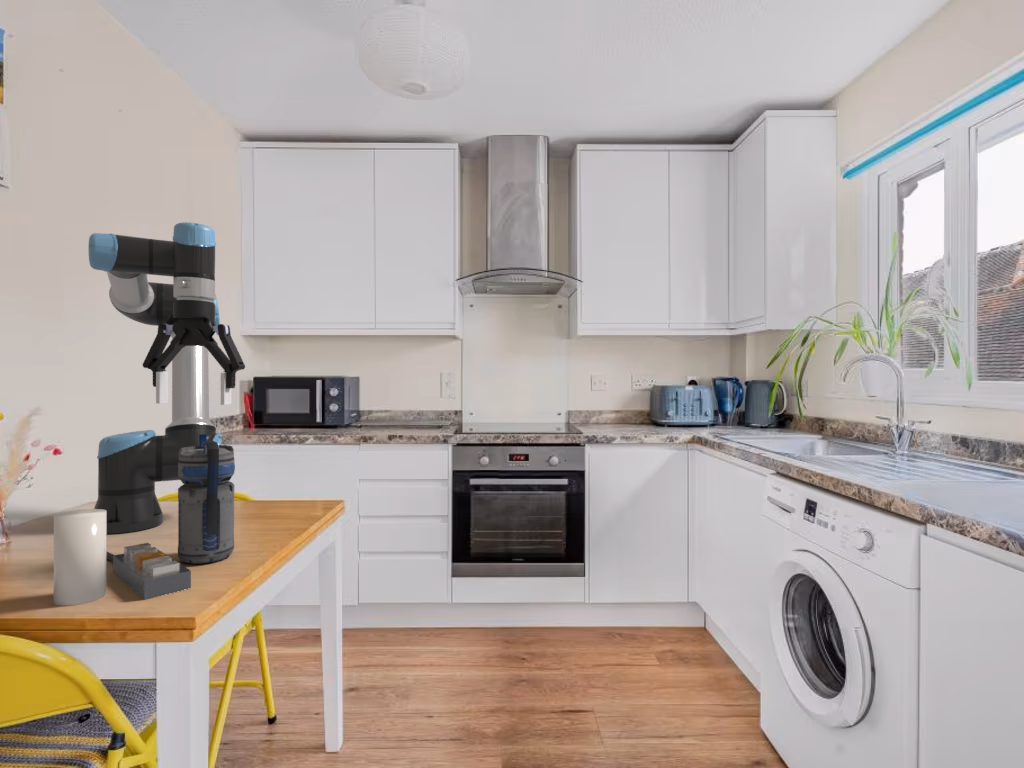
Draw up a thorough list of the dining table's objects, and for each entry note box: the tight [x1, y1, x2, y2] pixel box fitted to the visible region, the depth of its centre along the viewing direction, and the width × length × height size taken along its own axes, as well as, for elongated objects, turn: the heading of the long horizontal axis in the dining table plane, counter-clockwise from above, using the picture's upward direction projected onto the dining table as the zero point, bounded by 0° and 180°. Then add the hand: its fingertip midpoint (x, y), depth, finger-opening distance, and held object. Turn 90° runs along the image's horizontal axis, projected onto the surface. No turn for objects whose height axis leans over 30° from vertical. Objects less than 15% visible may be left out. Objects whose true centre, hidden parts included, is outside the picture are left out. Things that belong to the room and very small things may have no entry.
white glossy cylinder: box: [53, 508, 108, 607], centre depth 94 cm, size 7×7×14 cm
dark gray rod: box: [106, 550, 114, 563], centre depth 114 cm, size 11×1×1 cm, turn 54°
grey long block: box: [112, 542, 192, 601], centre depth 103 cm, size 20×7×5 cm, turn 48°
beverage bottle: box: [177, 434, 236, 565], centre depth 115 cm, size 10×13×25 cm
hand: (194, 404), depth 117 cm, fingers open, 13 cm apart
